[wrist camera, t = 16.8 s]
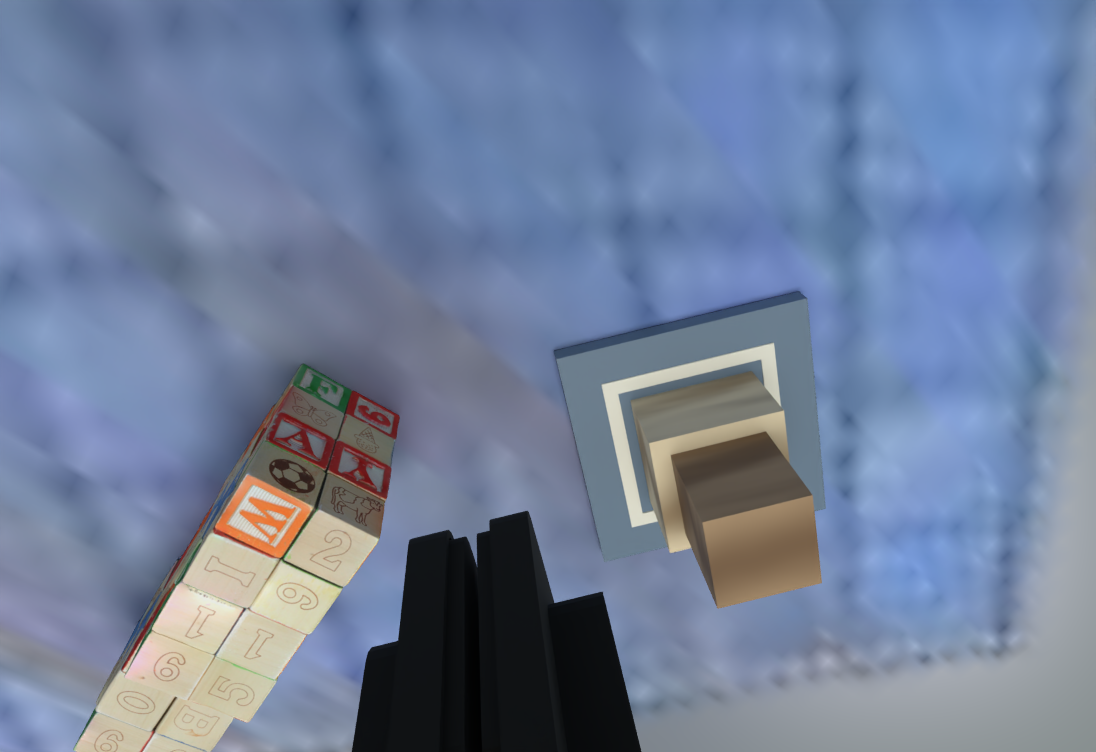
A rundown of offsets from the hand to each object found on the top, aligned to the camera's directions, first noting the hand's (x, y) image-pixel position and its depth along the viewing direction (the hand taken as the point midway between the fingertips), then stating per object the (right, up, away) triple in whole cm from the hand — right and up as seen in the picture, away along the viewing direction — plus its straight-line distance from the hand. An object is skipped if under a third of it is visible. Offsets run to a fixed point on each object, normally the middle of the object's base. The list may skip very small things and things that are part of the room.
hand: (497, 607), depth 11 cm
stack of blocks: (-16, -5, +36) cm, 40 cm away
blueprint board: (+9, 0, +36) cm, 37 cm away
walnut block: (+10, -2, +31) cm, 32 cm away
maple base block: (+9, 0, +35) cm, 36 cm away
